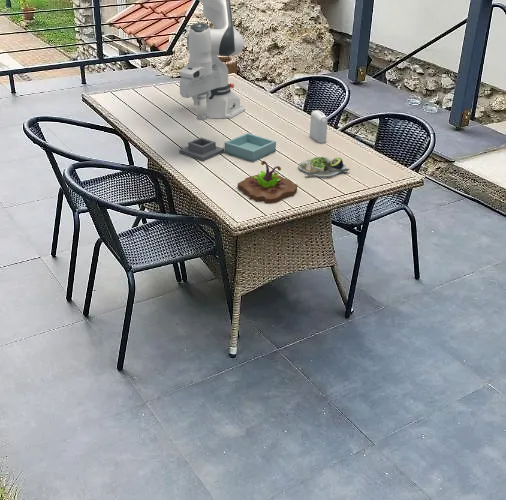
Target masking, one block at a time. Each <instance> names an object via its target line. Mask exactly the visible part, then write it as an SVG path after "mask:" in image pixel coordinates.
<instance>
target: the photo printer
mask: <svg viewBox="0 0 506 500" xmlns="http://www.w3.org/2000/svg"><path fill="white" fill-rule="evenodd" d="M309 124H310V125H309V126H310V127H309V137H311V138H312V139H313V140H315V141H316V142H317V143H320V144H324V143H326V142H327V133H328V132H327V131H328V117H327V116H326V115H325V113H324V112H323V111H321V110H317V109H316V110H312V112H311V113H310V123H309Z"/></svg>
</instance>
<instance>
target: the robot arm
mask: <svg viewBox="0 0 506 500" xmlns="http://www.w3.org/2000/svg"><path fill="white" fill-rule="evenodd" d="M198 1H199V2H200V3H201V4H202V12H203V15H204V17H205V19H206V20H208V21H210V22H211V23H212V25H213V27H214V28H211V27H210V26H209V25H208V24H207V23H205V22H204V23H203V22H196V23H193V24H192V25H190V26H189V29H188V34H187V37H186V43H187V44H186V46H187V47H186V48H187V50H188V52H189V58H188V63H187V64H186V65H185V66H184V67H183V68H182V69H180V70H179V76H180V79H179V95H180V96H181V98H185V99H189V98H191V99H192V100H193V105H194V106H195V107H196V106H197V105H199V104H200V101H199V100H197V97H198V94H201V93H206V106H207V118H210V119H232V118H234V117H236V116H238V115H239V114H241V113H242V112H245V110H246V107H244V105H241V100H240V97H239V96H238V95H236V93H234V92H232V90H231V89H235V83H229V68H228V66H227V64H225V63H224V62H223V61H221V59H220V58H219V56H221V57H230V56H238V55H240V54H241V52H242V51H243V49H244V45H245V41H244V38H243V35H242V34H241V33H240V32H239V31H238V30H237V29H236V28H235V26H234V22H233V11H232V6H231V0H198Z"/></svg>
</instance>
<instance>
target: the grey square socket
mask: <svg viewBox="0 0 506 500" xmlns="http://www.w3.org/2000/svg"><path fill="white" fill-rule="evenodd" d="M216 144H217V142H216V141H213V140H211V139H207V138H204V137H199V138H197V139H194V140H192V141H191V140H190V141H189V142H187V146H185V147H183V148H180V149H179V154H180V155H184V156H187V157H189V158H192V159H195V160H198V161H201V162H205V161H207V160H209V159H212V158H214V157H216V156H219V155H221V154H223V153H224V154H225V148H223V147H220V146H217V145H216Z"/></svg>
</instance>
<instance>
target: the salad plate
mask: <svg viewBox="0 0 506 500" xmlns="http://www.w3.org/2000/svg"><path fill="white" fill-rule="evenodd" d="M297 166H298V167H297V168H298V169H299V170H300V171H301V172H302V173H304V175H306V176H310V177H315V178H316V177H317V178H332V177H335V176H338V175H340V174H342V173H345V172H348V171H350V170H351V169H350V168H347V166H346V164H344V161H343V159H342V158H341V157H334V158H333V159H332V158H329V157H325V156H314V157H312V158H309V159H307V160H304V161H301V162H300V163H298V165H297ZM308 166H310V169H311V170H308V169H307V167H308Z"/></svg>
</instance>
